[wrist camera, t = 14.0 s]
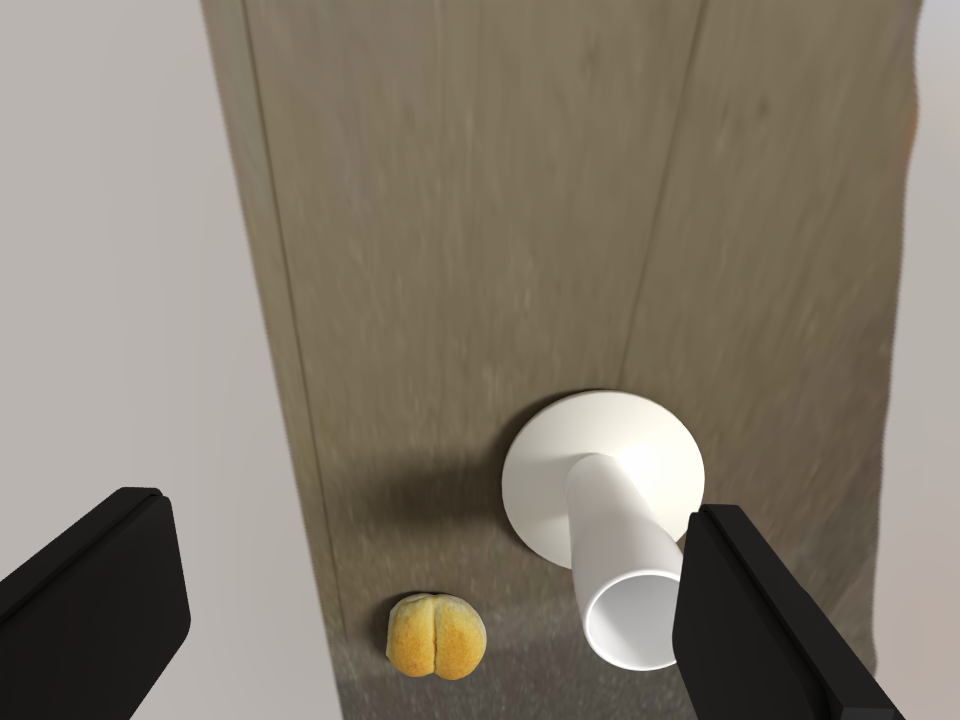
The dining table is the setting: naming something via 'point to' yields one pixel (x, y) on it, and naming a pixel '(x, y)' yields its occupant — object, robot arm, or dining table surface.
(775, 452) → the dining table surface
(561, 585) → the dining table surface
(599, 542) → the white cup
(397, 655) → the bread roll
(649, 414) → the cream dish
